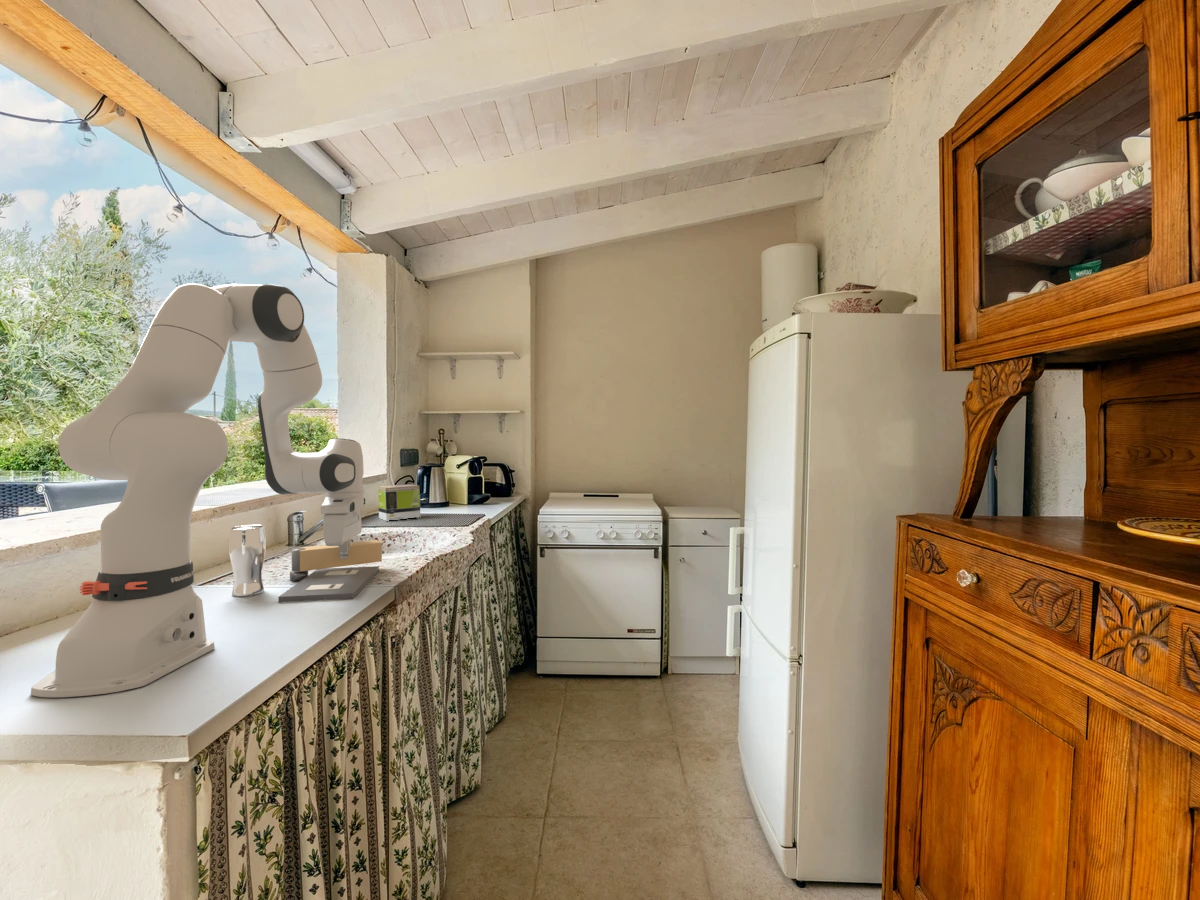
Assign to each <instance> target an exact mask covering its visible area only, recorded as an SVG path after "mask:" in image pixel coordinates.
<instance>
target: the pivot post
mask: <svg viewBox="0 0 1200 900" xmlns="http://www.w3.org/2000/svg"><path fill="white" fill-rule="evenodd" d="M308 575H309V570H308V571H292V570H291V571H289V582H293V583H295V582H296V583H298V582H300V581H301V580H303V579H304V578H306V577H307V576H308Z"/></svg>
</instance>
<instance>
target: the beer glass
mask: <svg viewBox="0 0 1200 900" xmlns="http://www.w3.org/2000/svg"><path fill="white" fill-rule="evenodd" d="M265 529H266V528H265V525H263V524H245V525H236V526H232V527H230V528H229V539H228V540H229V541H228V542H229V543H228V550H229V552H228V554H229V559H230V563H231V567H232V573H233V587H232V590H231V591H232V592H231V595H232V596H233V597H235V598H236V597H238V598H242V597H251V596H252V597H253V596H256V595H261V594H262V593H264V591H265V588H264V584H263V567H264V564H265V563H264V562H265V557H266V550H267V549H266V547H267V546H266V545H267V544H266V543H267V540H266V531H265Z"/></svg>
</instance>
